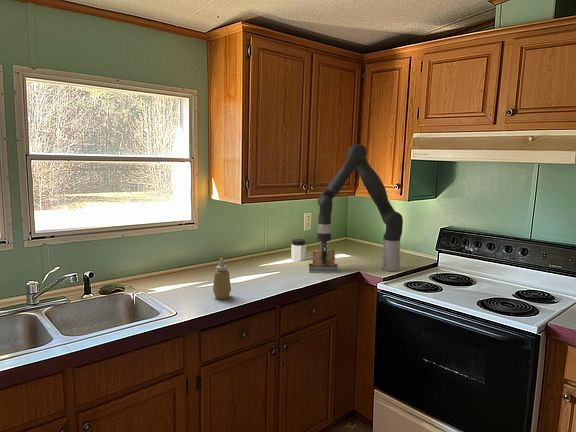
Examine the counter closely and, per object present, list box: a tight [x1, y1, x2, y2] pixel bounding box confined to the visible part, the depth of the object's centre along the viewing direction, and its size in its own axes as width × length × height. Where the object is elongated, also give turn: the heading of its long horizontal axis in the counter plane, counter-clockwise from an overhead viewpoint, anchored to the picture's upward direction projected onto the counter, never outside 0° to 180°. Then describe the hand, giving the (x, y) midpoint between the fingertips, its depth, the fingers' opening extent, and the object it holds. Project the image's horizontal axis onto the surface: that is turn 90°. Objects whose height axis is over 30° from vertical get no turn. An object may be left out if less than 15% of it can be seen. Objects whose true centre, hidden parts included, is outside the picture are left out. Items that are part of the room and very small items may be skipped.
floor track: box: [308, 262, 340, 274], centre depth 236 cm, size 16×9×3 cm, turn 88°
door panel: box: [312, 249, 336, 267], centre depth 235 cm, size 12×3×9 cm, turn 88°
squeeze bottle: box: [212, 257, 232, 300], centre depth 191 cm, size 8×8×18 cm
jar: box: [290, 238, 307, 262], centre depth 260 cm, size 9×8×12 cm
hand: (323, 262), depth 235 cm, fingers closed on door panel, 3 cm apart
